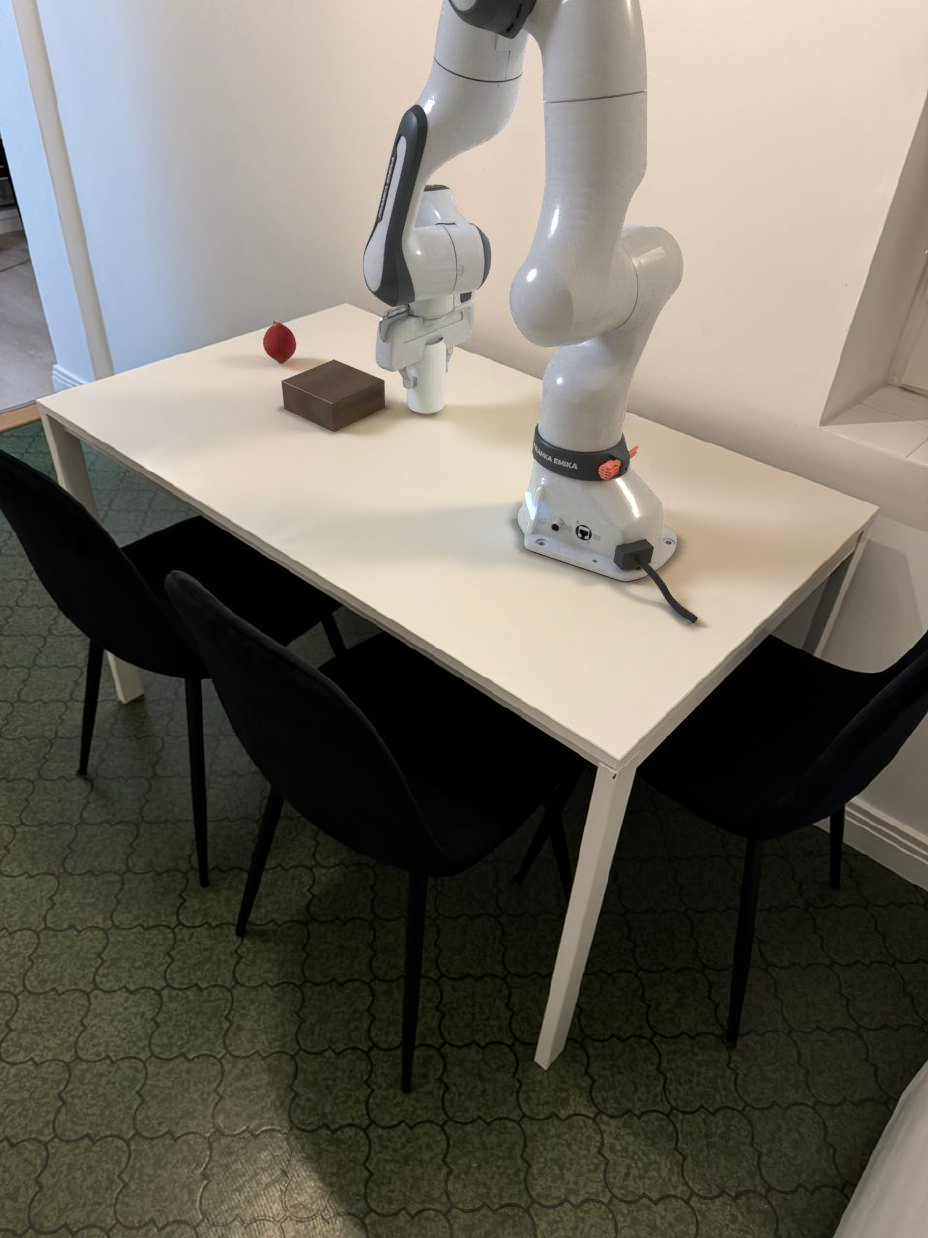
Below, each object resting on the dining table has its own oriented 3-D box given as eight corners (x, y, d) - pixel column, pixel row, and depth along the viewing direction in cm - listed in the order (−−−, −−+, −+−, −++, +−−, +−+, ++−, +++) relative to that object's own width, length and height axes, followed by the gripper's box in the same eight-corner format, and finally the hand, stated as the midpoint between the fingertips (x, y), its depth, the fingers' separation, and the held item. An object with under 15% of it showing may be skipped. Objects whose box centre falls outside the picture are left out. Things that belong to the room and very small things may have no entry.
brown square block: (385, 407, 153) (384, 379, 150) (334, 432, 146) (332, 403, 143) (335, 386, 159) (333, 358, 156) (283, 408, 152) (281, 380, 148)
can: (402, 400, 154) (401, 331, 147) (439, 396, 156) (439, 327, 148) (412, 416, 149) (411, 346, 142) (449, 412, 151) (450, 342, 143)
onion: (287, 353, 169) (283, 311, 164) (303, 364, 165) (300, 321, 160) (259, 361, 166) (254, 318, 161) (275, 372, 162) (271, 328, 157)
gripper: (394, 318, 133) (396, 405, 142) (482, 285, 146) (478, 366, 154) (364, 308, 136) (367, 393, 145) (452, 275, 149) (450, 356, 157)
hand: (425, 379), depth 150 cm, fingers closed on can, 6 cm apart
